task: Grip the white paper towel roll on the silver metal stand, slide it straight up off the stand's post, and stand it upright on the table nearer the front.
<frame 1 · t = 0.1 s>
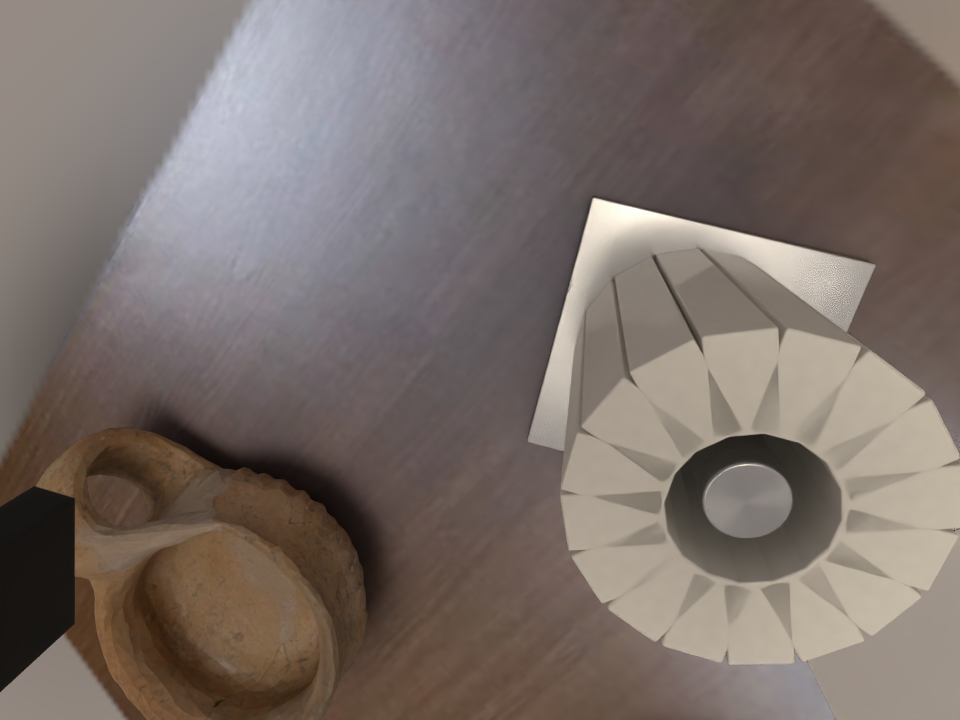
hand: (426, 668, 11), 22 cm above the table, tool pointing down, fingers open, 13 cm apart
towel stand: (683, 354, 31), on the table
milk: (948, 639, 33), on the table
paper towel roll: (686, 360, 30), point 1 cm above the table, touching towel stand
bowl: (249, 527, 38), on the table
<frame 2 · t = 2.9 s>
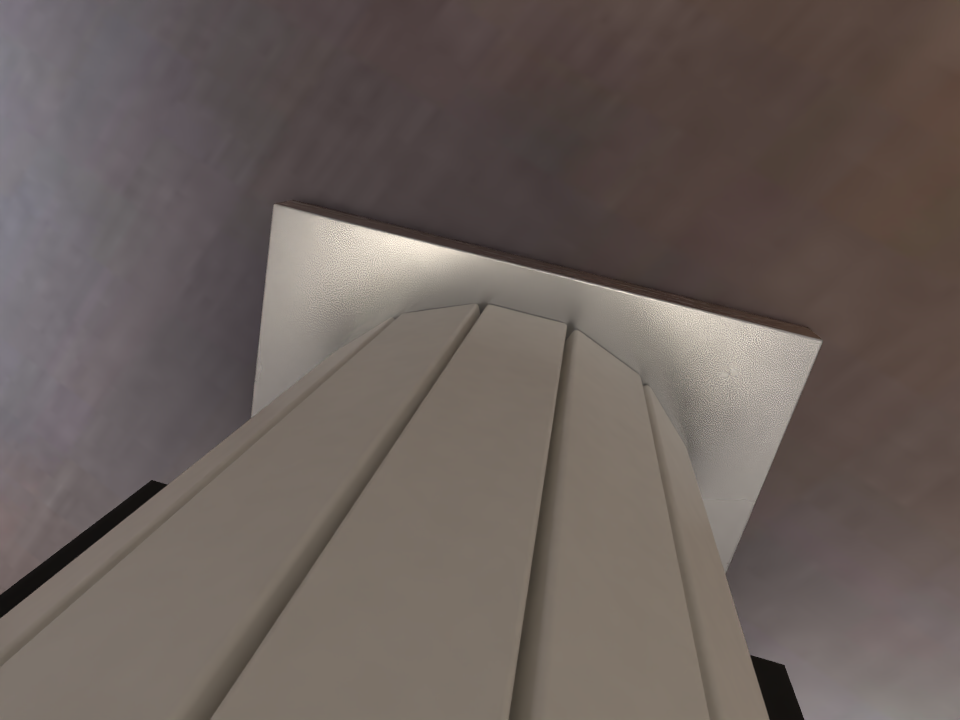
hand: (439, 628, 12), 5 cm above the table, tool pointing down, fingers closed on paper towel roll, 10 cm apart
towel stand: (484, 487, 17), on the table
paper towel roll: (478, 507, 16), point 1 cm above the table, touching gripper, towel stand
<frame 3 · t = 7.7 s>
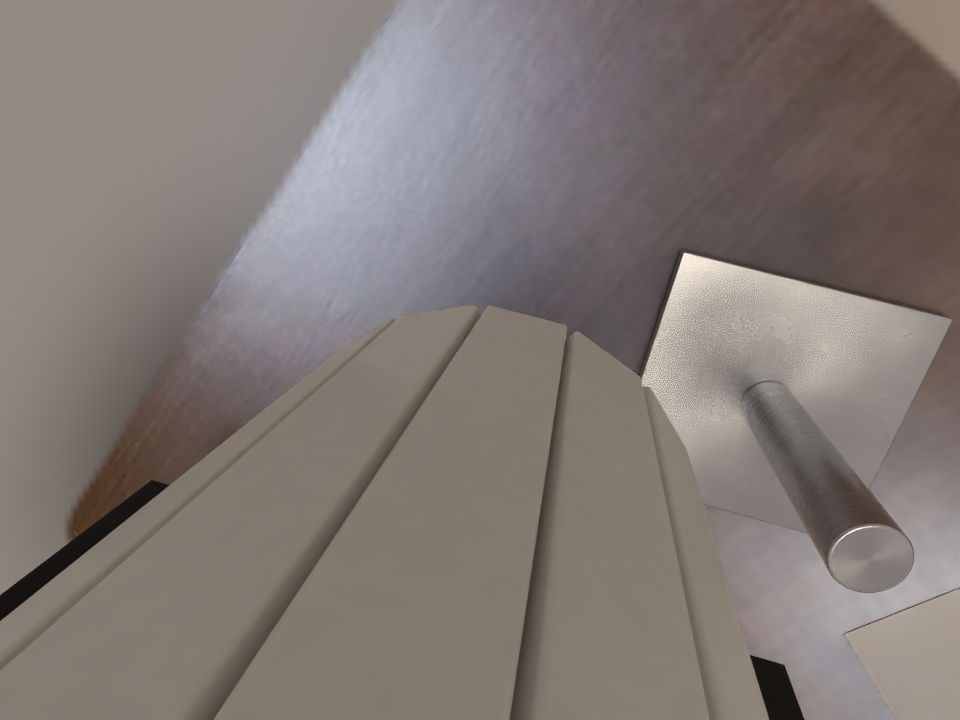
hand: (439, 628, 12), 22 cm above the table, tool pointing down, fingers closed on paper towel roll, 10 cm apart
towel stand: (762, 397, 32), on the table
paper towel roll: (478, 508, 16), point 18 cm above the table, touching gripper
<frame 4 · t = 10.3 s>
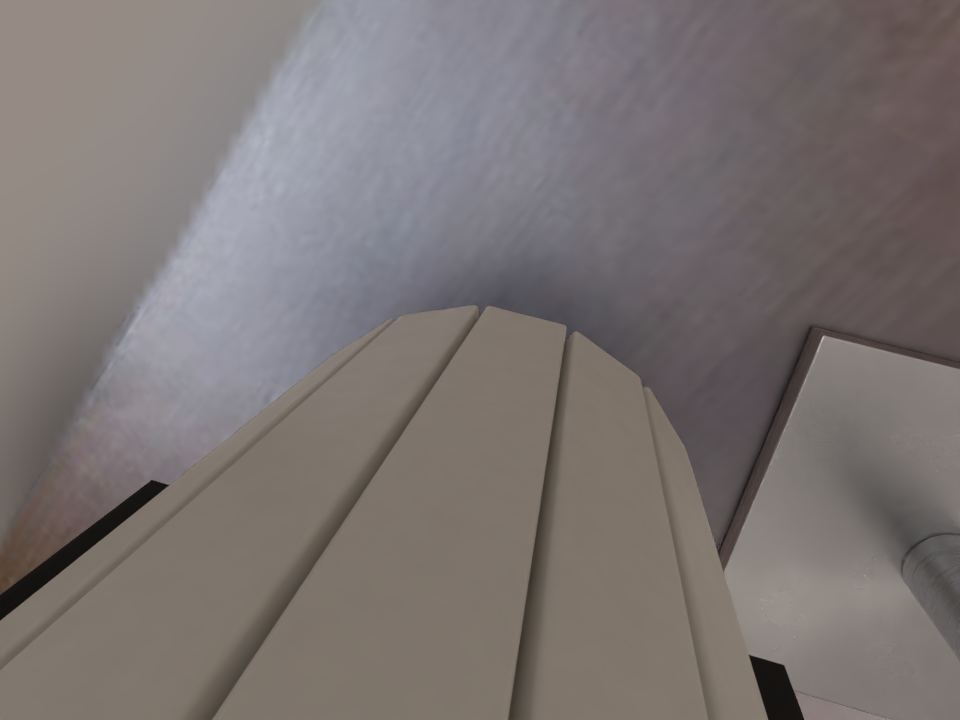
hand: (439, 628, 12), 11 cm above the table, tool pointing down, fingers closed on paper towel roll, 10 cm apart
towel stand: (929, 548, 21), on the table
paper towel roll: (478, 508, 16), point 6 cm above the table, touching gripper
when the fingers open (4 cm above the table, at t = 12.4 s): paper towel roll stays where it is, on the table.
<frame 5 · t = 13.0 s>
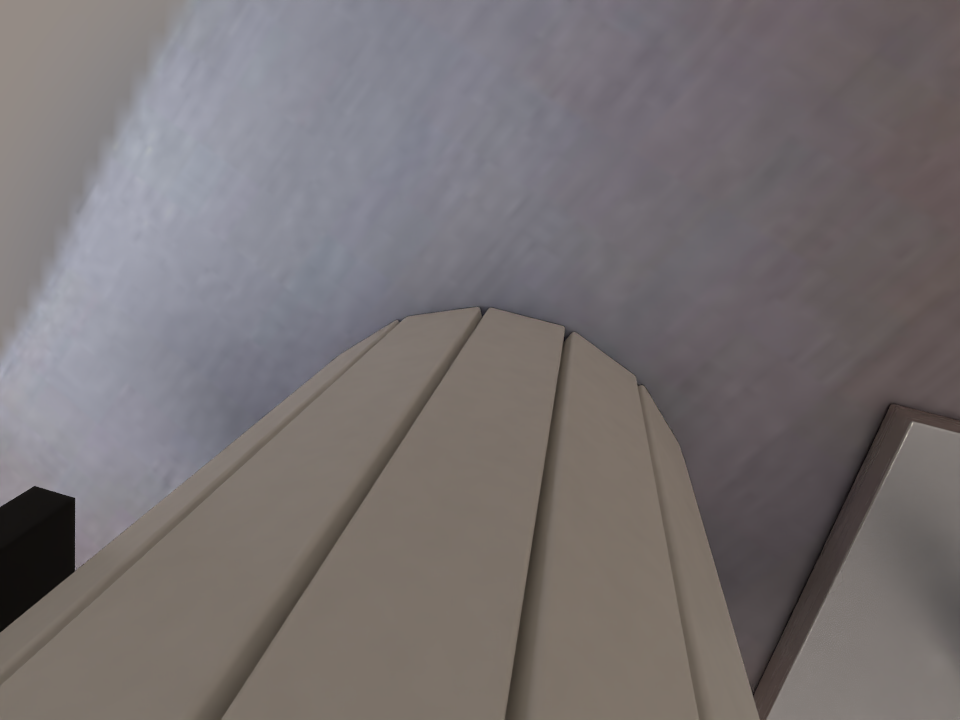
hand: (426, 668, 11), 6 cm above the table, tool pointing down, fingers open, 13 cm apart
paper towel roll: (479, 503, 16), on the table
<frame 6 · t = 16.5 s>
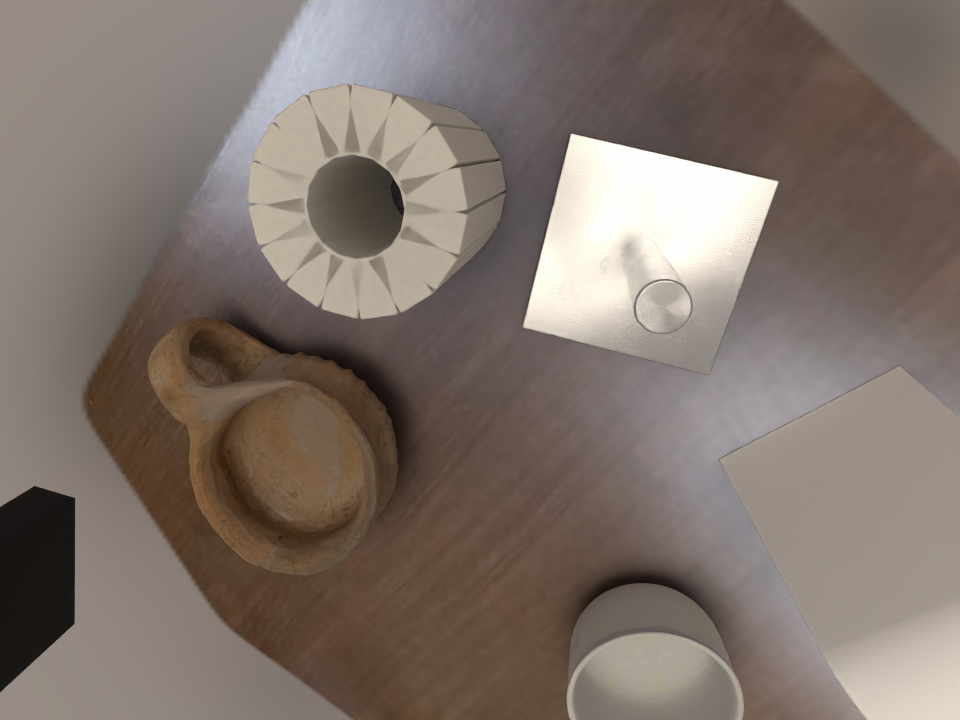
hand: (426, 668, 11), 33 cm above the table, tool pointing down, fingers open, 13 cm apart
towel stand: (641, 256, 40), on the table
milk: (848, 482, 43), on the table
teacup: (653, 637, 49), on the table
paper towel roll: (425, 189, 41), on the table
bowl: (301, 409, 48), on the table
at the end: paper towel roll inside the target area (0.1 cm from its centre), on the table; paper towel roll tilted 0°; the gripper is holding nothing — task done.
